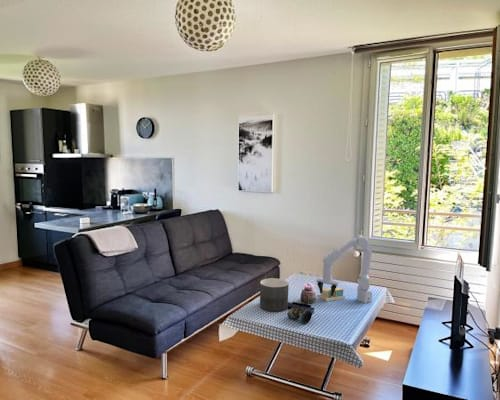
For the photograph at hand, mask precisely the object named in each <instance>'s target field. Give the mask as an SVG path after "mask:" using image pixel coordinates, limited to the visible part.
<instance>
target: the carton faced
mask: <svg viewBox="0 0 500 400" xmlns="http://www.w3.org/2000/svg"><path fill="white" fill-rule="evenodd" d="M338 296H344V288H342V287H336V289H335V291H334V294H333V296H332V297H338Z"/></svg>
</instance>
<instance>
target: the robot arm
mask: <svg viewBox="0 0 500 400" xmlns="http://www.w3.org/2000/svg"><path fill="white" fill-rule="evenodd" d="M371 245H372V244H370V241H369V239H368V238H366V237H365V236H363V235H362V234H357V235H356V236H353V237H352V238H351V239H350V240H349V241H348V242H346V243H345V244H344V245H343V246H341V247H340V248H336V249H333V250H332V252H331V253H329V254H327V255H326V256H324V257H323V259H322V263H323V269H322V272H323V273H322V278H317V279H316V284H317V287H318V289H319V293H320V294H319V295H322V290H324V289H323V287H324V284H325V285H330V289H331V296H333V294H334V291H335V289H336V288H338V286H339V282H336V281H334V280H333V265H334V263H335V262H336V261H337V260H339V259H340V258H342V257H343V254H344V253H345V252H347V251H348V250H350V249H351V248H354V247H360V248H361V249H363V254H362V261H361V266H360V267H361V268H360V273H359V276H358V278H357V280H356V283H357V285H358V286H357V288H356V289H357V290H356V291H357V293H356V300H357V301H358V302H362V303H363V304H369V303H372V301H373V293H372V291H371V290H370V287H371V285H370V276H369V273H370V267H371V260H372V252H373V248H372V246H371Z"/></svg>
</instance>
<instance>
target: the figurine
mask: <svg viewBox="0 0 500 400" xmlns="http://www.w3.org/2000/svg"><path fill="white" fill-rule="evenodd" d="M312 312H313V311H312V310H311V309H306V308H304V307H301V308H300V307H298V308H297V307H291V308H290V309H289V311H288V312H287V313H286V315H287V318H288V319H289V320H290V319H293V320H299V321H300V322H301V323H302V324H304V325H306V324H308V323H309V322H310V321H311V319H312V317H313V313H312Z"/></svg>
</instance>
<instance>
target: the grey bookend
mask: <svg viewBox="0 0 500 400" xmlns="http://www.w3.org/2000/svg"><path fill="white" fill-rule="evenodd" d="M345 296H346V295H343V296H338V297H332V296H331V298H326V300H323V299H322V294H318V295H317V296H316V297H317V298H320V299H321V300H323V301H324V302H331V301H336V300H344V299H345V298H346V297H345Z"/></svg>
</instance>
